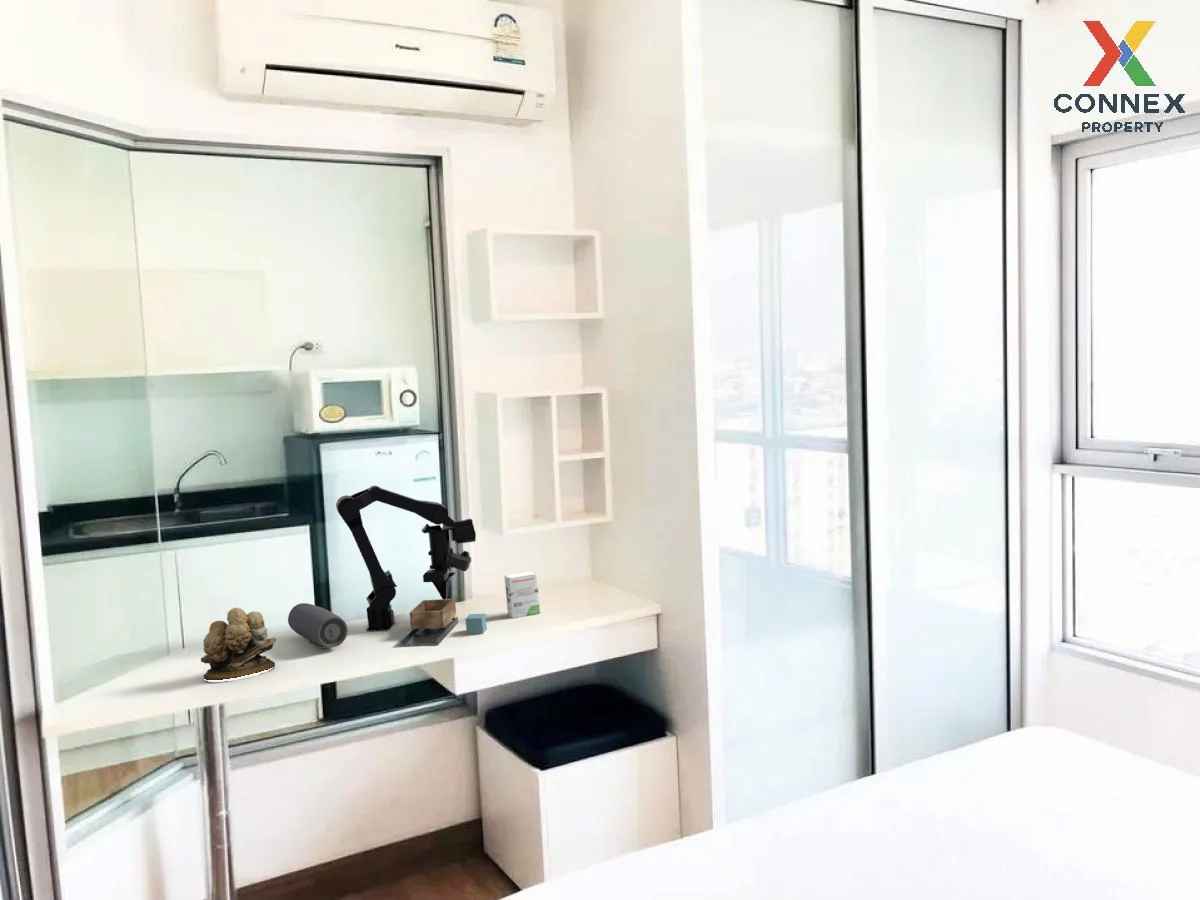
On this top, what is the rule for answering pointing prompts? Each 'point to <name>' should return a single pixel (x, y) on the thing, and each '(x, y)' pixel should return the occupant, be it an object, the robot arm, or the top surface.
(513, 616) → the ink box
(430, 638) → the track
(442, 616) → the wooden drawer
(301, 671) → the top surface
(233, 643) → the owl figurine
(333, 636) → the bluetooth speaker
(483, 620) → the part block
